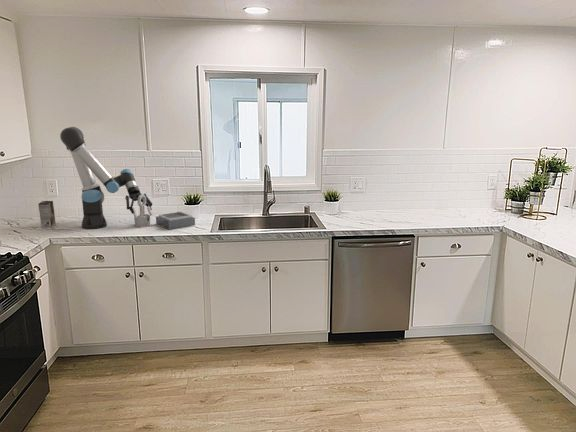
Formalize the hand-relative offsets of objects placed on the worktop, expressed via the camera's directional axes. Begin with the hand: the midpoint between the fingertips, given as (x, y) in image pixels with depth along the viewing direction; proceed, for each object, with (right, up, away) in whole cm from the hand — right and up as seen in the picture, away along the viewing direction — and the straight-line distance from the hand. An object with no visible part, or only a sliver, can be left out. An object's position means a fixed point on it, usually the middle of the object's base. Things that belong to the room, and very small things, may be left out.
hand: (143, 215), depth 284 cm
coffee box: (-62, -7, -2) cm, 62 cm away
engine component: (-2, -6, +4) cm, 8 cm away
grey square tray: (+19, -6, +7) cm, 21 cm away
